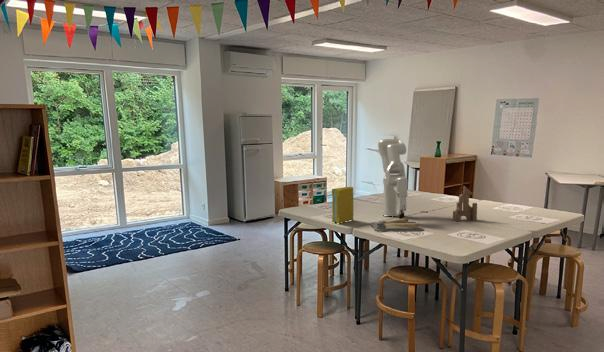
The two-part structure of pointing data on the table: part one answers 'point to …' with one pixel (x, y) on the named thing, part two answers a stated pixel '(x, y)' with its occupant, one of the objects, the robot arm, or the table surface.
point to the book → (342, 204)
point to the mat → (395, 229)
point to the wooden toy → (465, 207)
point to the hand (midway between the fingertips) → (401, 219)
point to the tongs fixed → (399, 226)
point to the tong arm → (393, 221)
